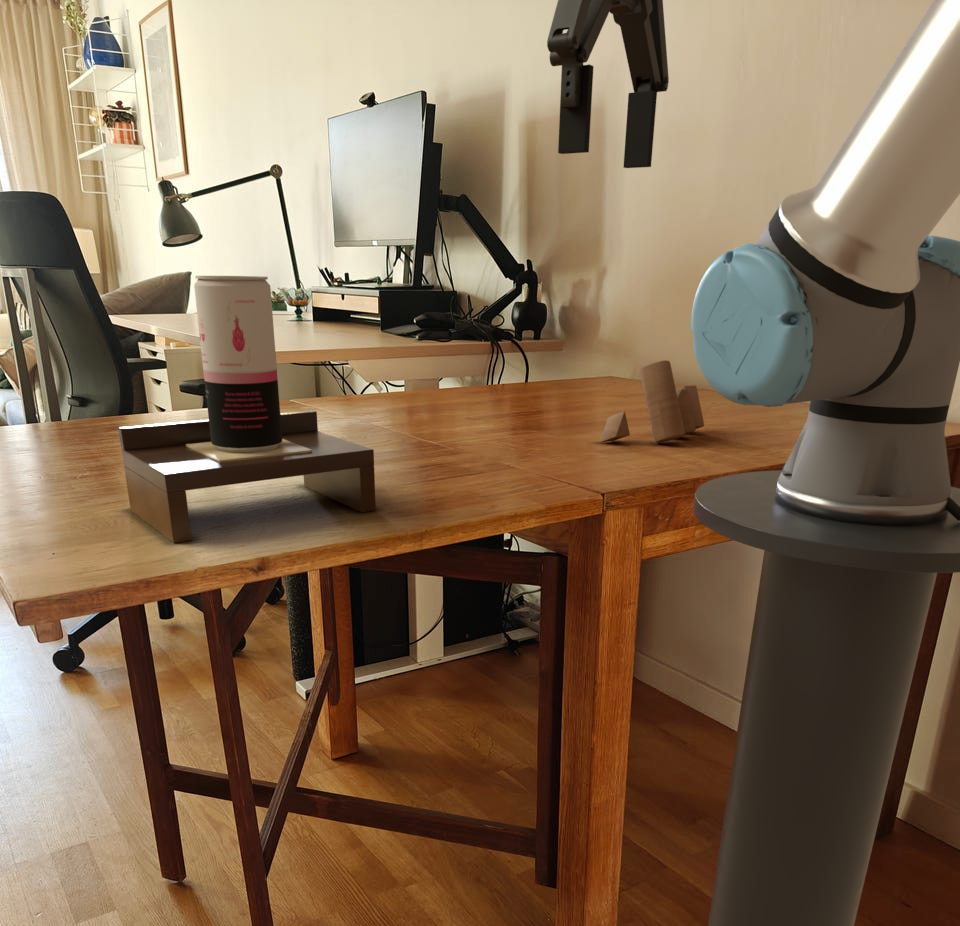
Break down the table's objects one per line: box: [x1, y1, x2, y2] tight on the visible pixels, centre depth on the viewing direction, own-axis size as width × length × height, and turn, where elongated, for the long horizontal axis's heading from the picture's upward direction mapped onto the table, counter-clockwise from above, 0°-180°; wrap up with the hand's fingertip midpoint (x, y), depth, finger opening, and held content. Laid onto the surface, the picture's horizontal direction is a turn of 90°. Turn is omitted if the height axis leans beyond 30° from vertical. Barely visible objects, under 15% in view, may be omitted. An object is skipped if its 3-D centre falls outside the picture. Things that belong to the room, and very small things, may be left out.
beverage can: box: [193, 275, 282, 453], centre depth 79 cm, size 7×7×15 cm
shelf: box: [117, 409, 377, 544], centre depth 83 cm, size 13×20×8 cm, turn 126°
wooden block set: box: [599, 360, 705, 444], centre depth 121 cm, size 18×9×10 cm, turn 131°
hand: (607, 161), depth 82 cm, fingers open, 13 cm apart
